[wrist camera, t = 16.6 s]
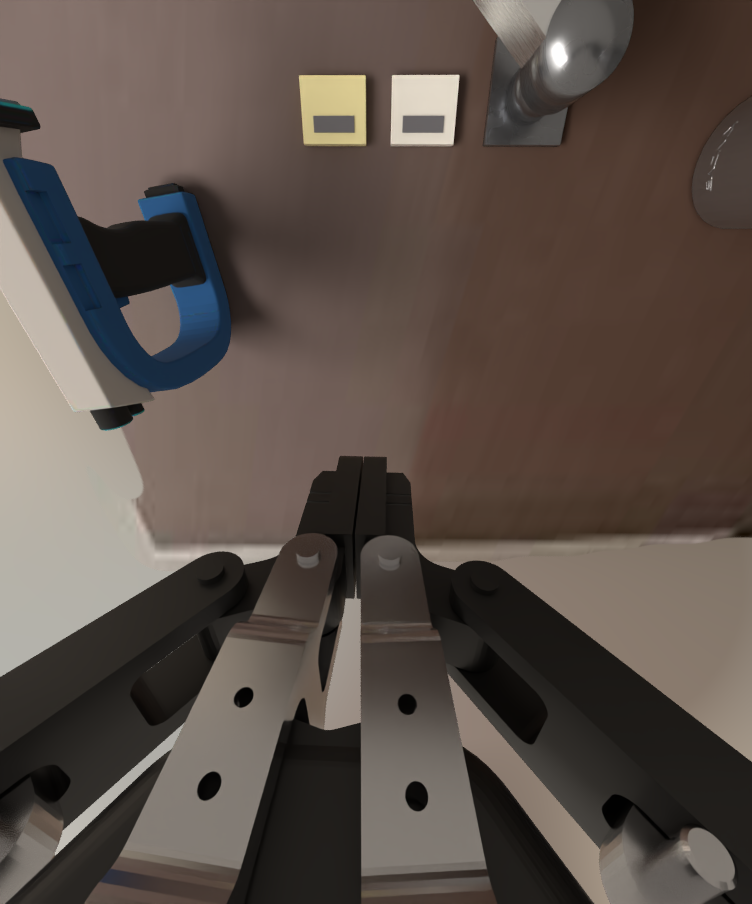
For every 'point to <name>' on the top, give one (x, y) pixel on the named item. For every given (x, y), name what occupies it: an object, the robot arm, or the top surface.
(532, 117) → the gray square plate
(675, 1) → the top surface
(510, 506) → the top surface
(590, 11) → the bar
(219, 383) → the top surface
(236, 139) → the top surface
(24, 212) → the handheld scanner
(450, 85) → the label plate
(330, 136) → the label plate
